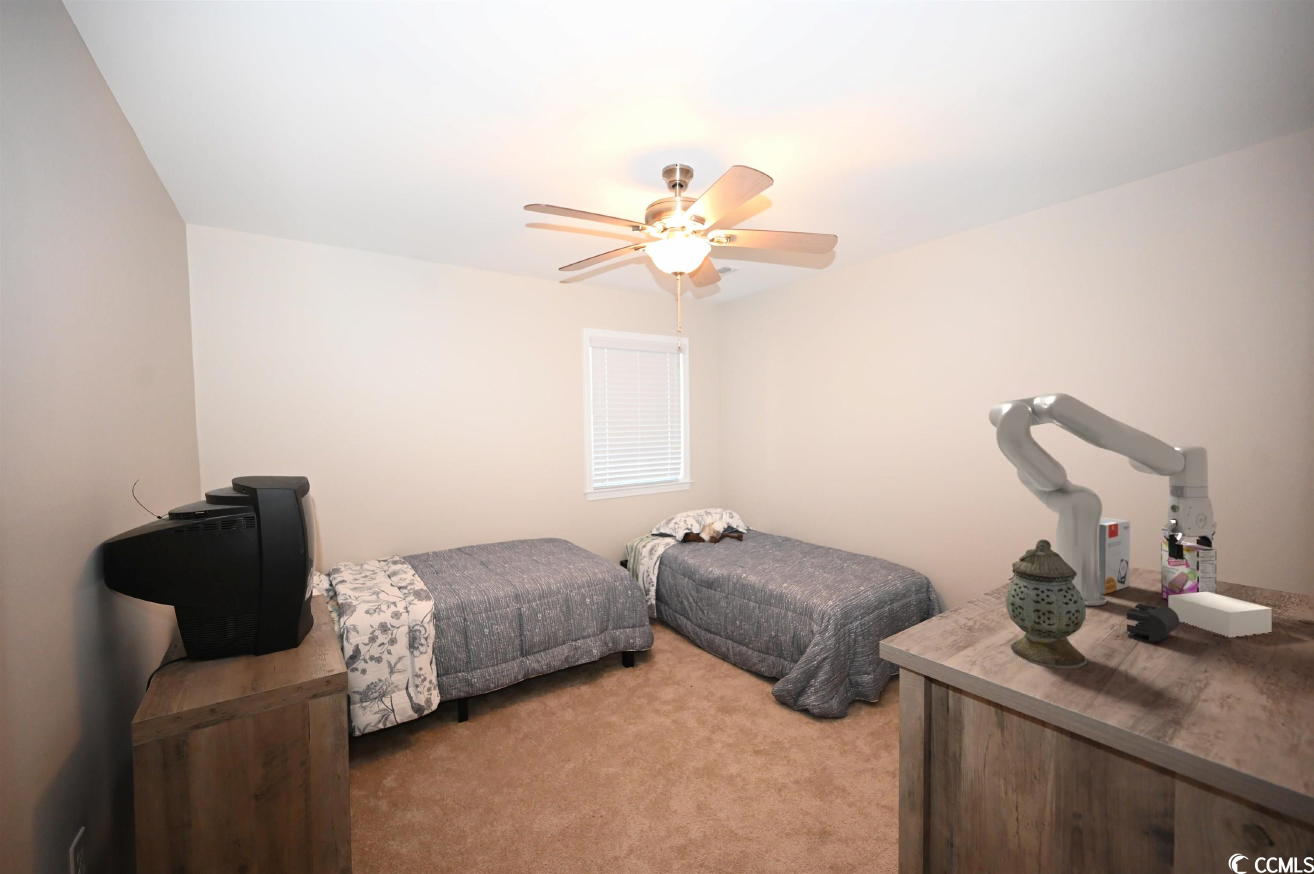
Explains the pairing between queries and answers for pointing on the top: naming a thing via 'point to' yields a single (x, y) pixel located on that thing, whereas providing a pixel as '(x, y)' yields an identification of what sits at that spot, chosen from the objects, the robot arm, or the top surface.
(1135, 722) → the top surface
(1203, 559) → the candy bar box
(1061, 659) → the lantern
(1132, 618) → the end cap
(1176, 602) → the painted block
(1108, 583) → the hard drive box
